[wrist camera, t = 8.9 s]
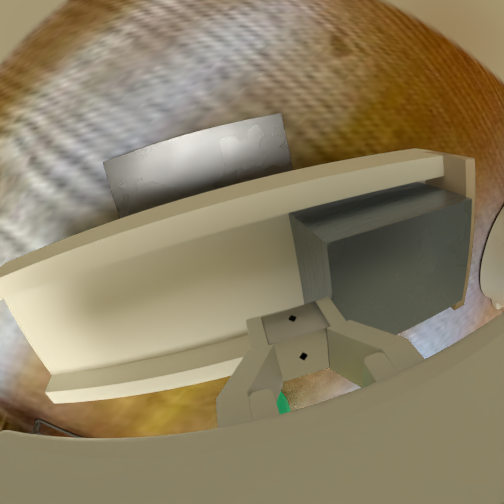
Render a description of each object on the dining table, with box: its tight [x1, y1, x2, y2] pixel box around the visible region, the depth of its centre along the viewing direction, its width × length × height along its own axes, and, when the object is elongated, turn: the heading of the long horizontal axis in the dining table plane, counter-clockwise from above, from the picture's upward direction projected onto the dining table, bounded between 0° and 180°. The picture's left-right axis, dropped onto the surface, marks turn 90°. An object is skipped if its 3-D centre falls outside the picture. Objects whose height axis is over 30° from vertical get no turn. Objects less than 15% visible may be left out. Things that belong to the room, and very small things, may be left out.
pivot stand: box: [103, 113, 293, 218], centre depth 18 cm, size 12×14×6 cm
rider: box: [288, 182, 472, 335], centre depth 12 cm, size 7×5×4 cm
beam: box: [0, 148, 476, 404], centre depth 12 cm, size 24×8×4 cm, turn 102°
